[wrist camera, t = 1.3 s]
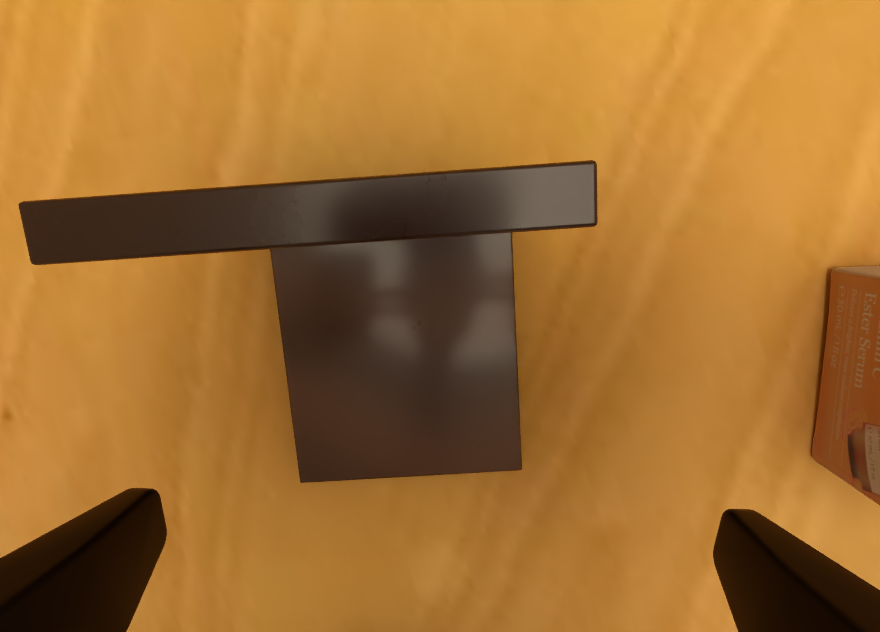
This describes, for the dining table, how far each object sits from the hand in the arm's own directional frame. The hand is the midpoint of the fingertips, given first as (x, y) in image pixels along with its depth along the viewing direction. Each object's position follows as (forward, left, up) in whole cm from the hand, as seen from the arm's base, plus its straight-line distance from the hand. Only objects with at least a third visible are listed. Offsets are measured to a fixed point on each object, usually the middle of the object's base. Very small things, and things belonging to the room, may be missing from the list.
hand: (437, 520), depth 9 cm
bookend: (-2, +1, -13) cm, 13 cm away
